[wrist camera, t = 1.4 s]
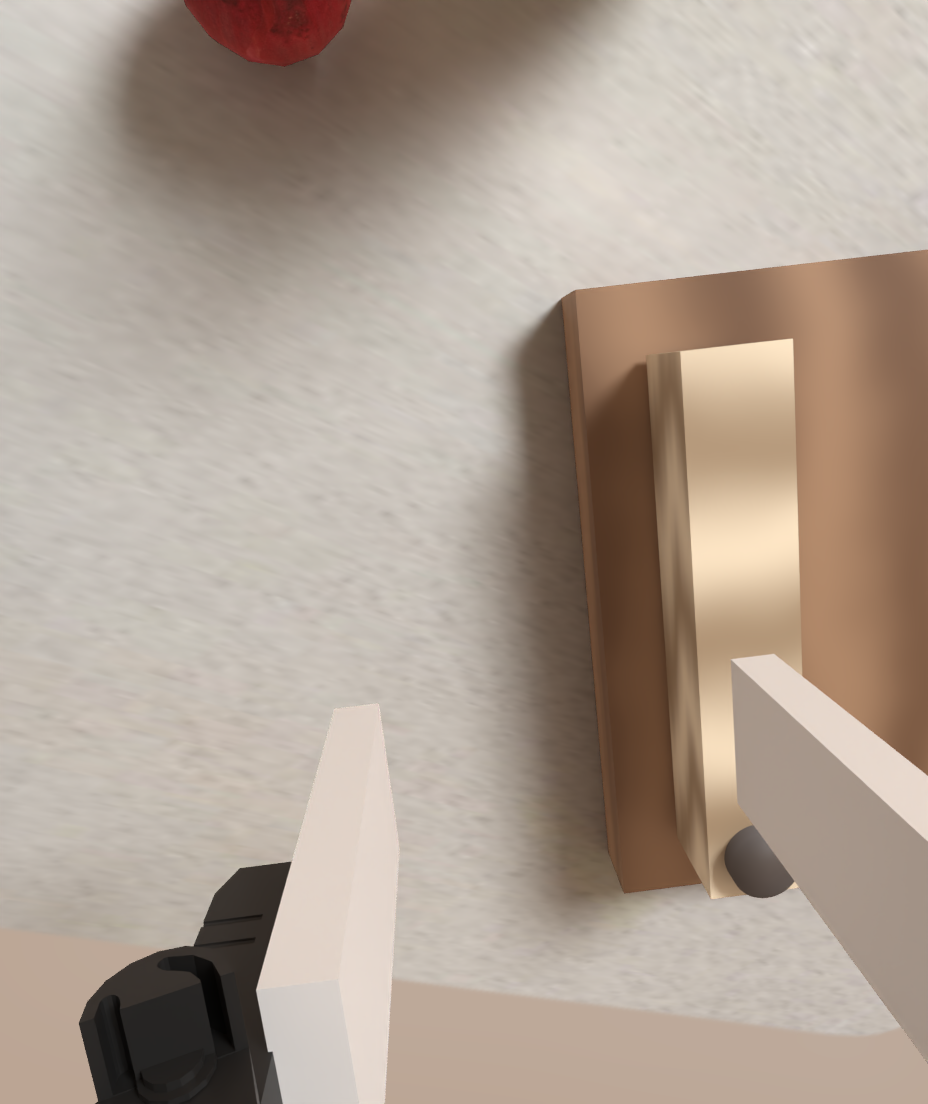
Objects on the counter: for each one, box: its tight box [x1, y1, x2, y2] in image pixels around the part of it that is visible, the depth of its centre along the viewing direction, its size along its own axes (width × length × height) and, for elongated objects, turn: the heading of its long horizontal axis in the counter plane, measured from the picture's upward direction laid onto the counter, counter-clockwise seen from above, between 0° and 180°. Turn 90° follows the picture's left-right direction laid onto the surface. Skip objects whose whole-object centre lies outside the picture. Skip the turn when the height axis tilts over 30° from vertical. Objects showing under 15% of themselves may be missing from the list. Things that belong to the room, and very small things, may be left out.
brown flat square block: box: [562, 250, 928, 893], centre depth 31 cm, size 24×24×6 cm
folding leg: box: [646, 338, 802, 899], centre depth 29 cm, size 19×4×5 cm, turn 6°
